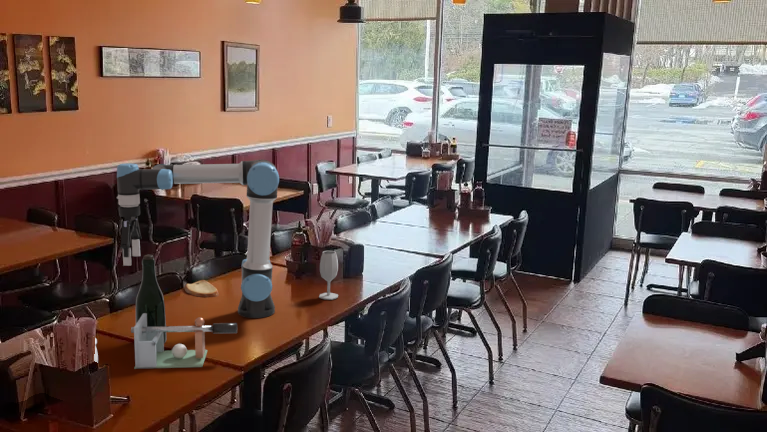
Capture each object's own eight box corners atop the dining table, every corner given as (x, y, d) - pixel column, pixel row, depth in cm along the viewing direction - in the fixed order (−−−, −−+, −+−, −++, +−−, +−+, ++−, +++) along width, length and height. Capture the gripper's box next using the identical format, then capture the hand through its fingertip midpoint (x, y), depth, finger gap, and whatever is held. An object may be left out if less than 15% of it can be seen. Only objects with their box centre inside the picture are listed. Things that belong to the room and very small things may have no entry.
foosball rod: (237, 350, 240) (237, 314, 238) (236, 357, 235) (235, 320, 232) (134, 352, 236) (133, 315, 233) (130, 359, 230) (129, 321, 227)
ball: (188, 354, 238) (187, 341, 237) (185, 360, 233) (185, 346, 232) (173, 355, 237) (173, 341, 236) (170, 361, 232) (170, 347, 231)
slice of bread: (217, 298, 303) (216, 290, 302) (176, 297, 303) (176, 288, 303) (227, 286, 321) (227, 278, 320) (189, 285, 321) (189, 277, 320)
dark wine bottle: (149, 350, 242) (146, 260, 236) (130, 344, 248) (126, 255, 241) (172, 341, 251) (169, 254, 245) (153, 335, 256) (150, 250, 250)
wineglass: (315, 298, 305) (315, 253, 301) (324, 293, 313) (324, 249, 309) (333, 301, 302) (333, 255, 298) (341, 296, 310) (342, 251, 306)
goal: (164, 351, 241) (162, 313, 238) (156, 368, 228) (154, 327, 225) (144, 352, 240) (143, 313, 238) (135, 368, 227) (133, 327, 224)
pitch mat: (207, 350, 243) (207, 349, 243) (202, 366, 230) (202, 365, 229) (143, 352, 240) (143, 351, 240) (134, 368, 227) (134, 367, 227)
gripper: (127, 199, 266) (130, 252, 270) (109, 211, 241) (112, 269, 245) (147, 199, 267) (149, 252, 271) (131, 211, 242) (134, 269, 246)
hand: (132, 260), depth 258 cm, fingers open, 13 cm apart
